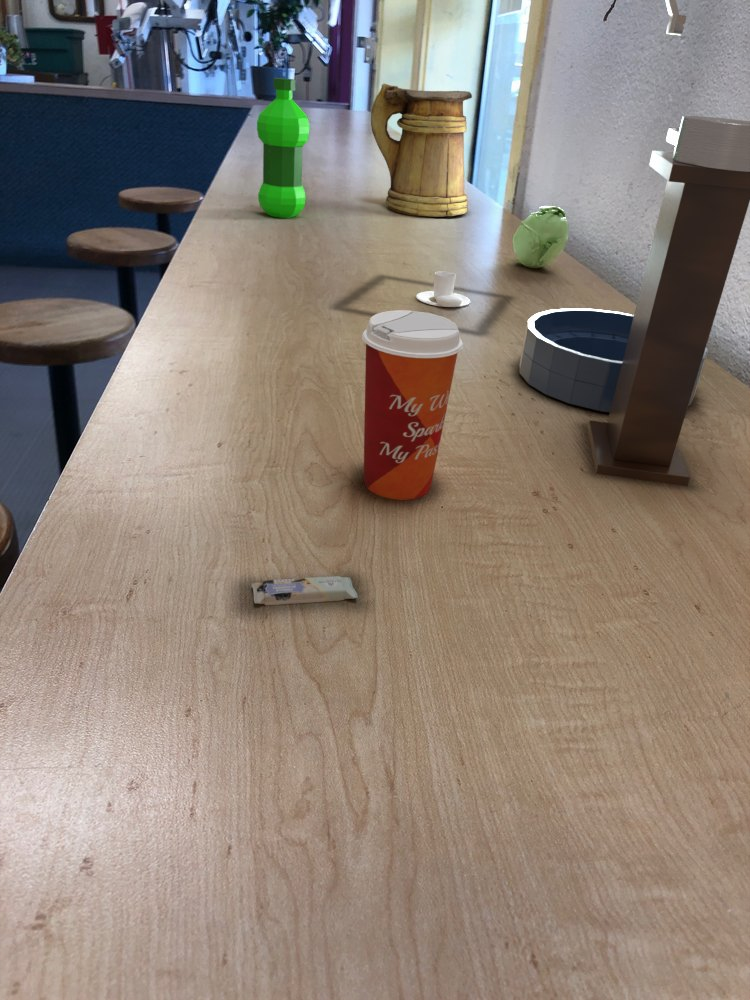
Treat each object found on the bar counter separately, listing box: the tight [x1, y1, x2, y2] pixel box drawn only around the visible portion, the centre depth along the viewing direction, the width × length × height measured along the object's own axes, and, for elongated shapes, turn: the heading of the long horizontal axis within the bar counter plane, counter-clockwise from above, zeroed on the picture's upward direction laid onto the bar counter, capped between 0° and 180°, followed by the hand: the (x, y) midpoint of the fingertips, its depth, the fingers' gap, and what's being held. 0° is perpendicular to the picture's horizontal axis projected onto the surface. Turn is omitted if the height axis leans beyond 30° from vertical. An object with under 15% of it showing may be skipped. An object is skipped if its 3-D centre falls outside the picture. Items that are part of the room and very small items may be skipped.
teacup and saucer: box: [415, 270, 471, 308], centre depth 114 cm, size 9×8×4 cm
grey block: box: [665, 115, 750, 172], centre depth 66 cm, size 7×22×3 cm, turn 171°
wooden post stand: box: [586, 150, 750, 487], centre depth 68 cm, size 8×10×26 cm
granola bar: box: [251, 575, 359, 606], centre depth 51 cm, size 7×2×1 cm, turn 101°
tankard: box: [370, 83, 473, 218], centre depth 174 cm, size 18×24×25 cm
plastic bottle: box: [256, 77, 311, 219], centre depth 155 cm, size 10×10×25 cm
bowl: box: [518, 308, 709, 413], centre depth 89 cm, size 20×20×6 cm
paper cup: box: [361, 309, 464, 501], centre depth 62 cm, size 8×8×14 cm
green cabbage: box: [512, 205, 570, 269], centre depth 135 cm, size 12×11×11 cm
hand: (718, 38), depth 85 cm, fingers open, 8 cm apart
